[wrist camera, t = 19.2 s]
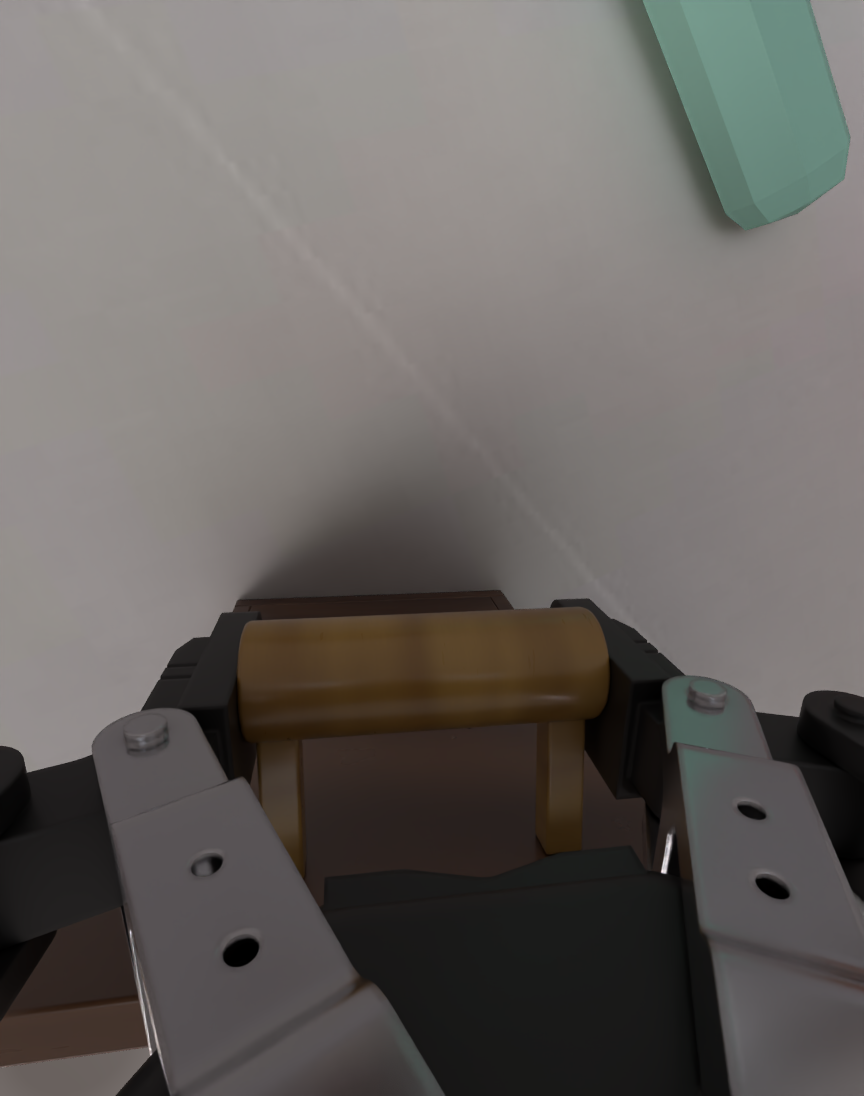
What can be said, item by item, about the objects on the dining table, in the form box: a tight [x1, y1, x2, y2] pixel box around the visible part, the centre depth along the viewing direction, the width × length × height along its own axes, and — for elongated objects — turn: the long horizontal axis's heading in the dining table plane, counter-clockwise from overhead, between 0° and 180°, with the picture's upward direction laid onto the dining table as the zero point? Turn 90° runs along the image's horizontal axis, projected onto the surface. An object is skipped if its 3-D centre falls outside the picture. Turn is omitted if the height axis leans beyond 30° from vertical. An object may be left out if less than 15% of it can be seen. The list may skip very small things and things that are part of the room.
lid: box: [0, 607, 645, 1068], centre depth 16 cm, size 16×14×5 cm
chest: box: [233, 590, 514, 620], centre depth 30 cm, size 16×14×6 cm
